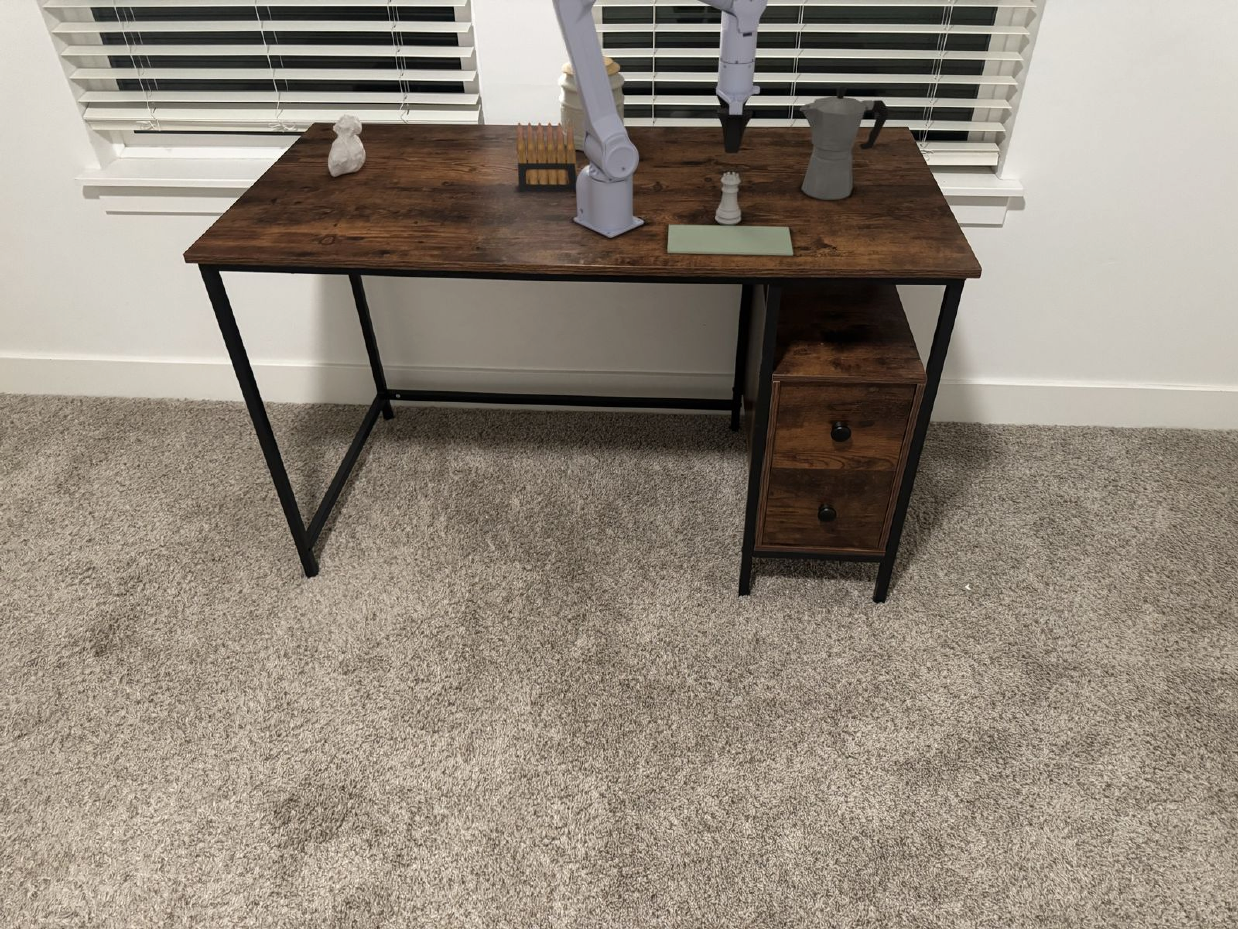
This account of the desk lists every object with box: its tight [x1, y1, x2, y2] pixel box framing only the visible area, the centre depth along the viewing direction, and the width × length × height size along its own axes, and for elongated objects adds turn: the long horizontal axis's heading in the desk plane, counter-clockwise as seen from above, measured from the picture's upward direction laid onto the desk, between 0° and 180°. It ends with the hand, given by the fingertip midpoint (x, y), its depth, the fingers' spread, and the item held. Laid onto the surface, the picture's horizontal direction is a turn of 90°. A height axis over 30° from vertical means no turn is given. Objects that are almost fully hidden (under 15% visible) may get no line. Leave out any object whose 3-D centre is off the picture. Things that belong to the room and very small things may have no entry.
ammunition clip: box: [516, 122, 578, 192], centre depth 159 cm, size 11×2×12 cm, turn 88°
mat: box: [666, 224, 794, 256], centre depth 145 cm, size 20×10×1 cm, turn 86°
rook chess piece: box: [714, 171, 742, 226], centre depth 149 cm, size 4×4×8 cm
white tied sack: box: [327, 113, 366, 178], centre depth 167 cm, size 12×8×11 cm
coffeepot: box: [799, 85, 890, 201], centre depth 155 cm, size 15×9×18 cm, turn 92°
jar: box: [557, 55, 626, 152], centre depth 175 cm, size 13×13×18 cm
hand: (731, 143), depth 150 cm, fingers open, 7 cm apart
